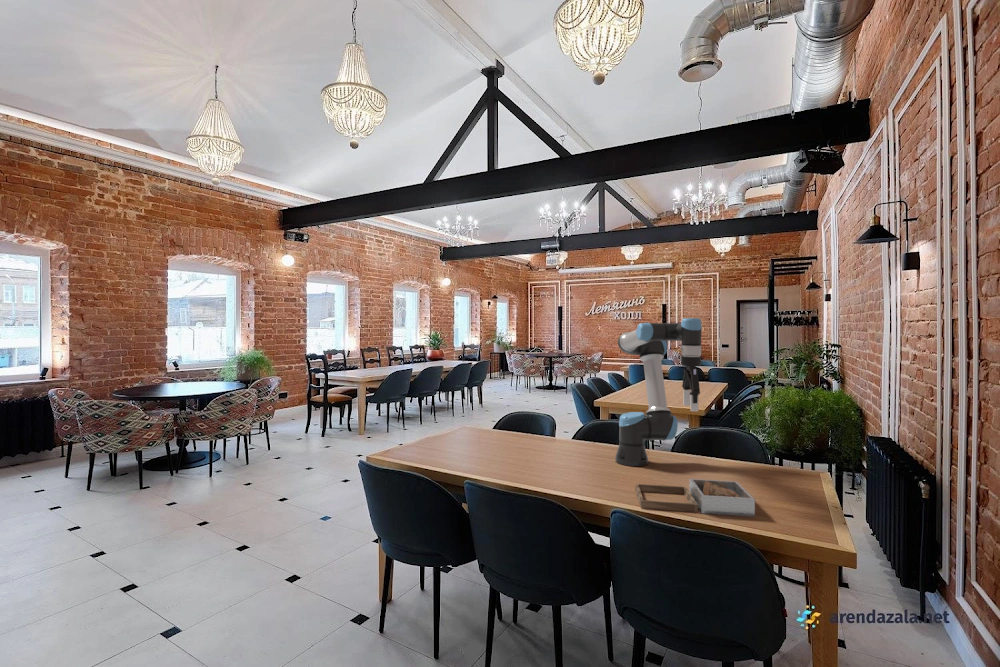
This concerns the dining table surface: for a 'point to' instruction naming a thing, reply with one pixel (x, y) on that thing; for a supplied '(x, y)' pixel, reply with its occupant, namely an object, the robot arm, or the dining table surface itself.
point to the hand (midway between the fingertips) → (690, 408)
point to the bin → (722, 499)
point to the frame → (662, 505)
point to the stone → (717, 490)
